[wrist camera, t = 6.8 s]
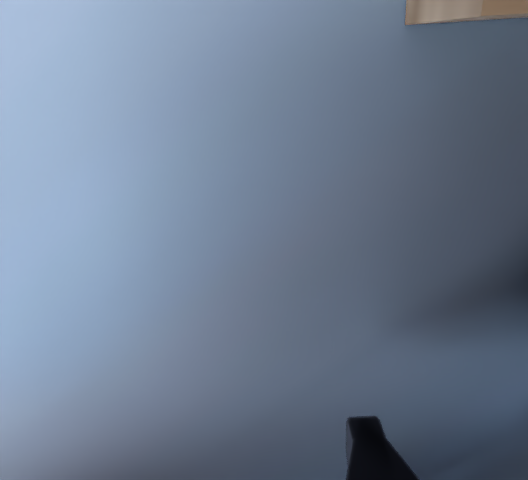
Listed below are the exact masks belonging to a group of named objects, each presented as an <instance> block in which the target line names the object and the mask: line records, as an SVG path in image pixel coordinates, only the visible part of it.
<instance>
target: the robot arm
mask: <svg viewBox="0 0 528 480" xmlns="http://www.w3.org/2000/svg"><path fill="white" fill-rule="evenodd" d="M346 457H347V465H348V470H347V476H346V480H419V479H418V477H417V476H416V475H415V474H414V472H413V471H412V470H411V469H410V467H409V466H408V465H407V464H406V462H405V461H404V460H403V459H402V457H401V456H400V455H399V454H398V452H397V451H396V450H395V449H394V447H393V446H392V445H391V443H390V442H389V441H388V440H387V438H386V436H385V433H384V431H383V428H382V425H381V422H380V420H379V418H378V417H377V416H357V417H349V418H347V421H346Z"/></svg>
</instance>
